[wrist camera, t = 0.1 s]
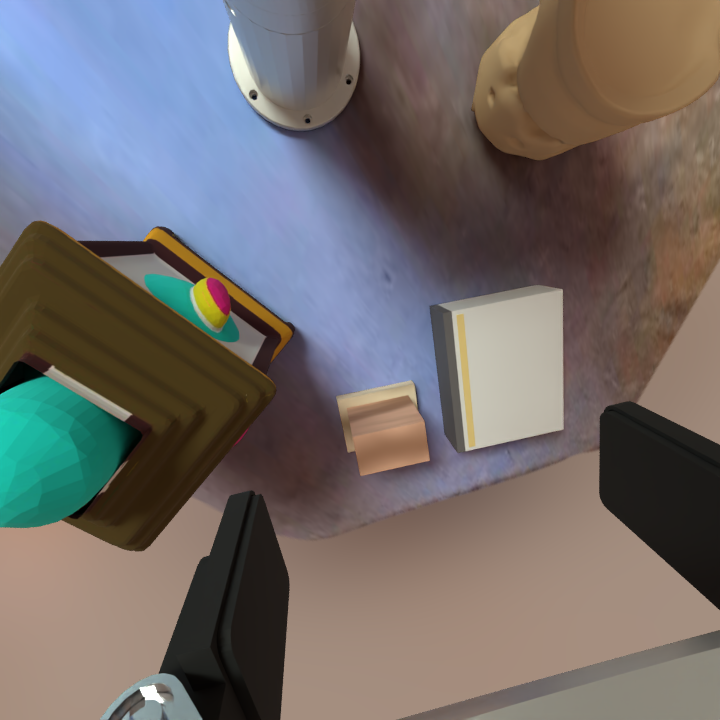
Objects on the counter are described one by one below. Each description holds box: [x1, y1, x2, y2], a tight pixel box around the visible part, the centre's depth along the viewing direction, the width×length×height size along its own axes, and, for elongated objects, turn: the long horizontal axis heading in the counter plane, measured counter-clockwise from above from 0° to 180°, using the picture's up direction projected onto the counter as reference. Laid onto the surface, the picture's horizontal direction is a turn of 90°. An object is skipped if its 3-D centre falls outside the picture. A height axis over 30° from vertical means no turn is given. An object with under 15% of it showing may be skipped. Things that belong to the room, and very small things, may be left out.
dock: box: [430, 285, 563, 453], centre depth 47 cm, size 18×14×5 cm
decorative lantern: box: [0, 221, 295, 551], centre depth 30 cm, size 20×20×30 cm
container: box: [471, 0, 720, 160], centre depth 32 cm, size 13×13×18 cm
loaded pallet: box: [336, 380, 430, 476], centre depth 46 cm, size 8×10×9 cm
